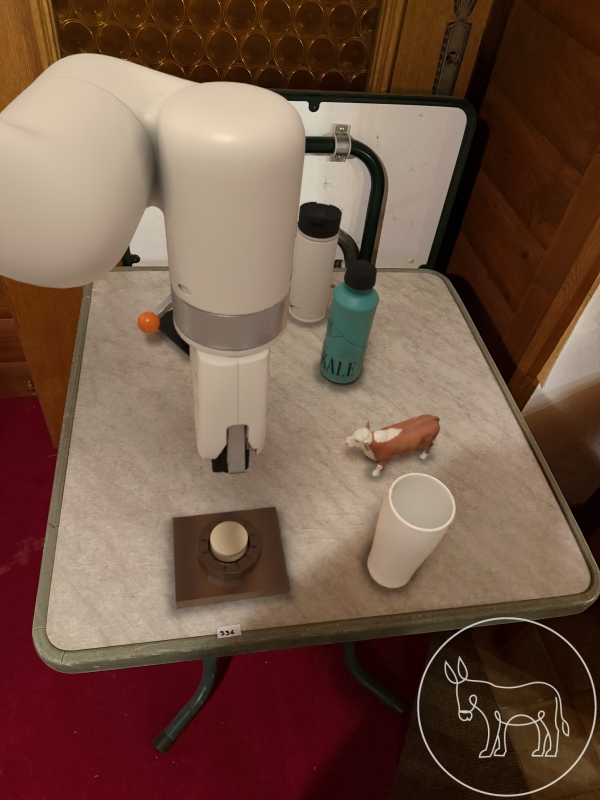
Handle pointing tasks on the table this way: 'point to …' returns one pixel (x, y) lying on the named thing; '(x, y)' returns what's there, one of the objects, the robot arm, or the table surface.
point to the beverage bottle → (350, 323)
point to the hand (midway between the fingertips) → (229, 463)
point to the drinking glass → (409, 527)
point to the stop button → (229, 541)
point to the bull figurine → (396, 439)
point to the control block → (228, 581)
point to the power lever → (154, 317)
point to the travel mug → (313, 261)
